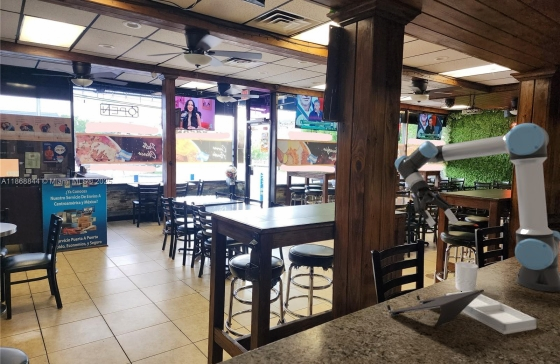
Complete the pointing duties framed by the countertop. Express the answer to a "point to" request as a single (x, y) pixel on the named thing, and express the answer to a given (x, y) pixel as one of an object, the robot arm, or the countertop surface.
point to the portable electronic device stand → (443, 305)
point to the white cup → (465, 276)
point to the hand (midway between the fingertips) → (444, 223)
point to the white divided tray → (498, 315)
